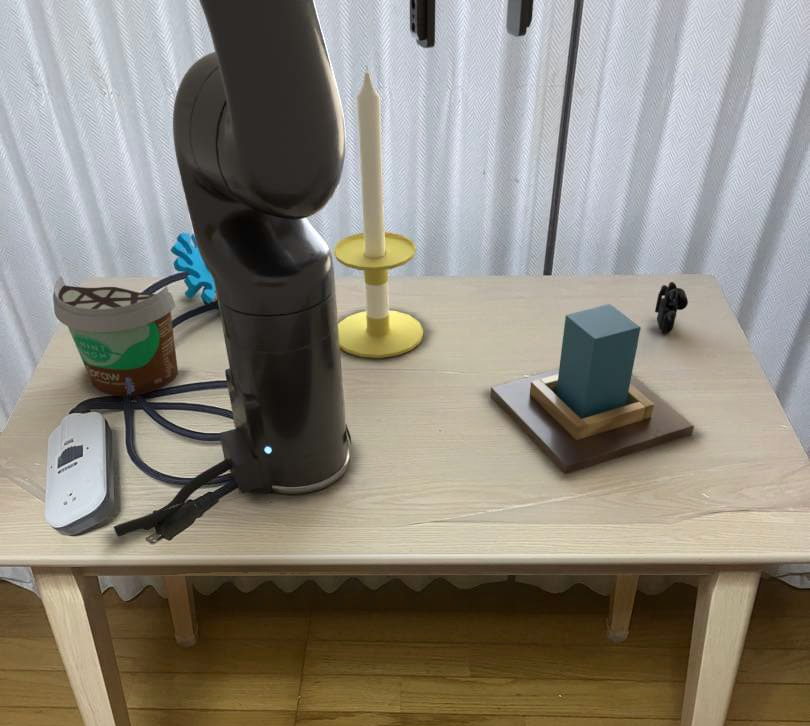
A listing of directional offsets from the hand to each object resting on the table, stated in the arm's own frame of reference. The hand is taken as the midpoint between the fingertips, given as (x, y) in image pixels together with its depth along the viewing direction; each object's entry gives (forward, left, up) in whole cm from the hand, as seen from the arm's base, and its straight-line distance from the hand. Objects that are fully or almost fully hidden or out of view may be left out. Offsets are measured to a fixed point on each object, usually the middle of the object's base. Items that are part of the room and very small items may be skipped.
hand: (471, 40), depth 72 cm
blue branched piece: (-20, +24, -30) cm, 43 cm away
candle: (-6, +8, -30) cm, 32 cm away
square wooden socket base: (+6, -15, -30) cm, 34 cm away
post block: (+6, -15, -29) cm, 33 cm away
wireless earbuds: (+23, -5, -30) cm, 38 cm away
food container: (-34, +10, -30) cm, 46 cm away
